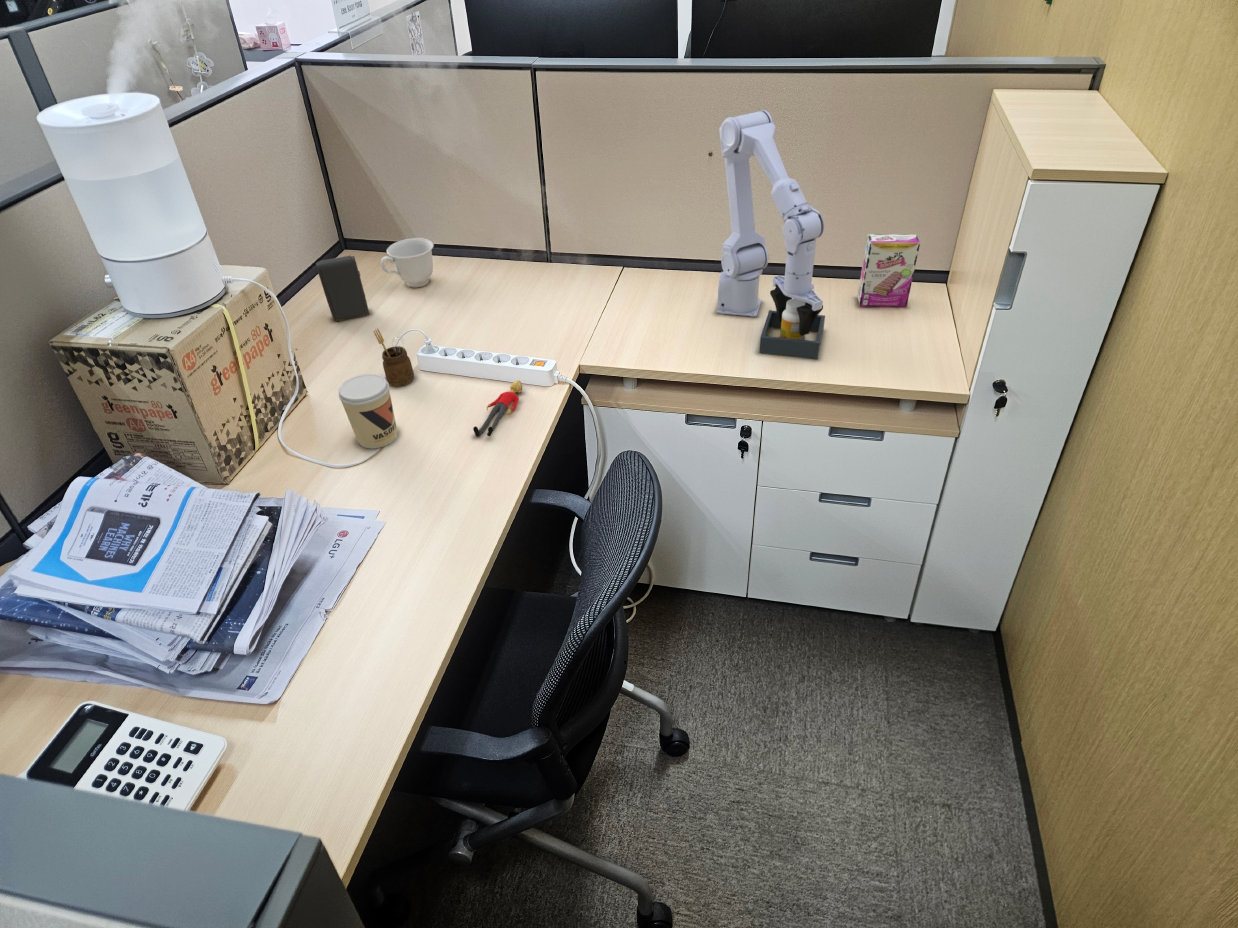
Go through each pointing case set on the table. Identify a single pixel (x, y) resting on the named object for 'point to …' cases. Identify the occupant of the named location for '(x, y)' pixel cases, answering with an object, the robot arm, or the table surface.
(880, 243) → the candy bar box
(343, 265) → the dark grey upright block
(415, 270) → the teacup
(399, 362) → the utensil holder
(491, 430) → the person figure
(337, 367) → the table surface
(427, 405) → the table surface
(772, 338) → the tray
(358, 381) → the beige lidded canister
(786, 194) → the robot arm
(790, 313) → the supplement bottle
